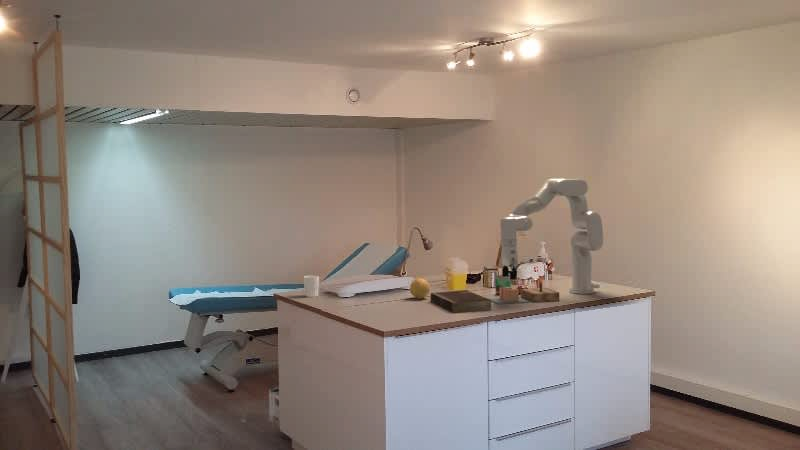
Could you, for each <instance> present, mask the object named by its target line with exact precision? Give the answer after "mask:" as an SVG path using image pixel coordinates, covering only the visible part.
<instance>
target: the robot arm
mask: <svg viewBox="0 0 800 450" xmlns="http://www.w3.org/2000/svg"><path fill="white" fill-rule="evenodd" d="M588 190H589V185H588V183H587V181H586V180H584V179H581V178H548V179H546V180H545V181H544V183H542V185H541V186H540V187H539V188H538V189H537V190H536V191H535V193H534V194H533V195H532V196H531V197H530V198H528V199H526V200H525V201H524V202H522V203H519V205H517V206H516V207H514V209H513V210H512V211H511V212H510V213H509V215H508V216H507V217H506V216H505V217H501V218H500V221H499V222H500V246H501V258H500V261H501V273H502V274H501V275H502V276H503V277H506V276H509V273H510V280H511V281H513V280H518V279H517V277H518V274H517V273H518V266H519V259H518V258H519V255H518V250H517V249H518V247H517V244H518V243H517V233H518V232H528V231H530V230H531V229H532V227H533V224H534V222H533V220H532V219H531V217H530V215H533V214H535V213H539V212H541V211H543V210H545V209H546V208H547V207H548V206H549V204H550V203H551V202H552V201H553V200H554V199H555V197H558V196H559V197H565V198H566V199H567V200H568V202H569V209H570V218H571V225H572V227H574V228H576V229H580V230H578V231H575V232H573V233H572V235H571V237H570V247H571V252H572V253H571V254H572V258H571V259H572V264H571V265H572V268H571V272H572V273H571V278H572V280H571V288H569V289H568V292H569V293H571V294H577V293H578V294H579V295H580V294H581V295H588V294H589V295H590V294H594V293H595V289H599V288H601V285H600V284H599V283H597V284H594V283H592V255H591V251H592V252H598V251H600V250H601V249H602V247H603V246H604V230H603V222H602V217H601V216H600V214H599V213H598V212H597V211H594V210H589V209H588V203H587V202H588V201H587V197H586V194H587V192H588ZM585 230H586V231H585ZM509 270H510V271H509Z"/></svg>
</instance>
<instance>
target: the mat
mask: <svg viewBox="0 0 800 450" xmlns="http://www.w3.org/2000/svg"><path fill="white" fill-rule="evenodd" d="M487 299H490V300H491V303H494V304H496V305H508V304H510V305H511V304H513V303H514V304H528V303H530V301H528V300H526V299H524V298H521V296H519V301H506V302H505V301H503V300H501V299H499V297H491V298H490V297H489V298H488V297H487Z"/></svg>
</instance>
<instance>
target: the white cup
mask: <svg viewBox="0 0 800 450" xmlns="http://www.w3.org/2000/svg"><path fill="white" fill-rule="evenodd" d="M319 289H320V276H319V275H313V274H311V275H304V276H303V291H304V297H305V296H306V298H317V297H319ZM316 296H317V297H316Z"/></svg>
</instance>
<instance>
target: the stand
mask: <svg viewBox="0 0 800 450" xmlns="http://www.w3.org/2000/svg"><path fill="white" fill-rule="evenodd" d="M520 298H522V299H525V300H527V301H529V302H531V303H541V302H542V301H546V302H559V301H560V292H558V291H556V290H555V289H554V290H553V289H550V288H548V287H543V282H541V281H539V288H538V287H537V288H521V289H520ZM542 303H543V302H542Z"/></svg>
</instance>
